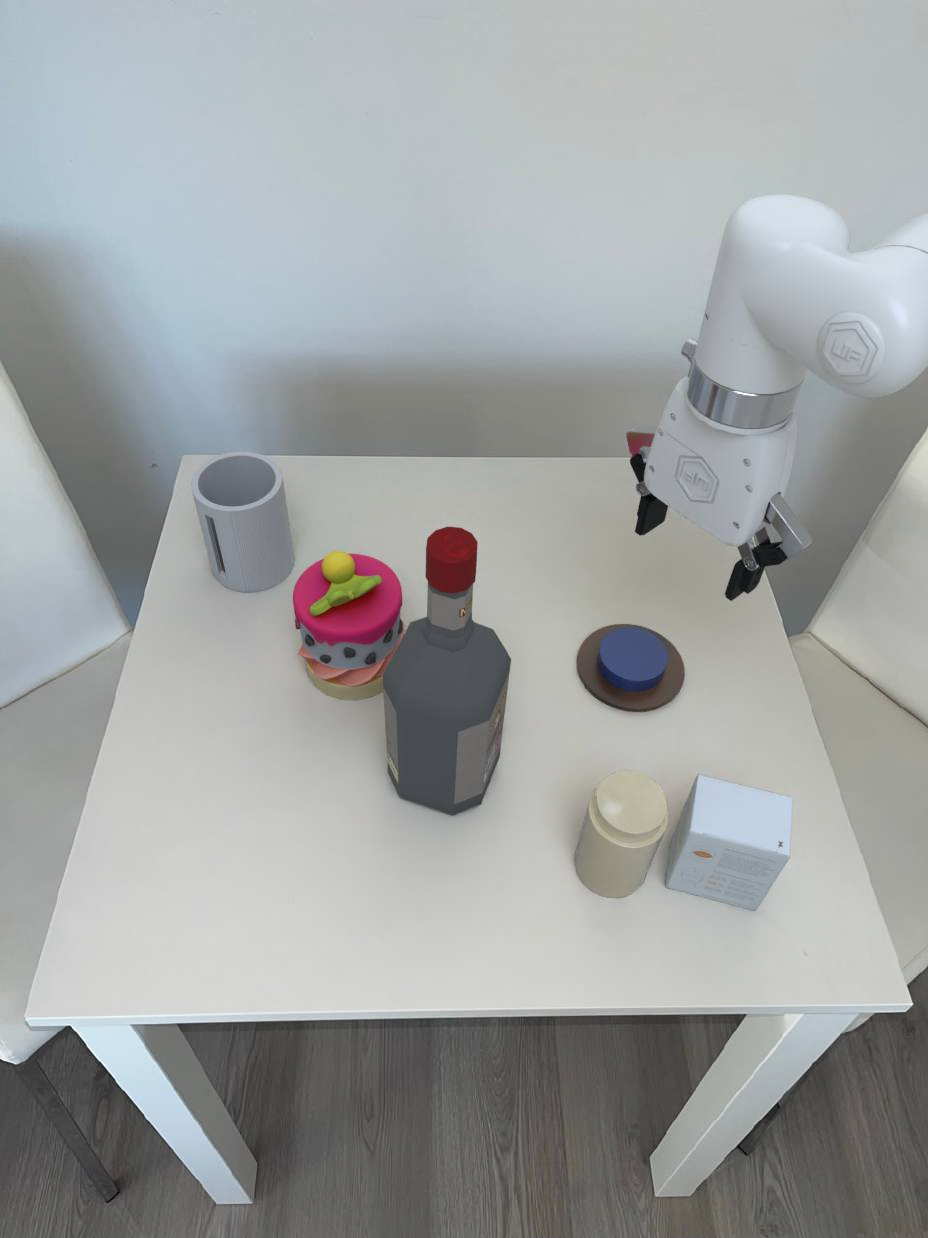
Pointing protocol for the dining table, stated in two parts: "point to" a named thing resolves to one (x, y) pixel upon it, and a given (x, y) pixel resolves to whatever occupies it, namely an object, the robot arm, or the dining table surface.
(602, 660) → the lid
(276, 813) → the dining table surface
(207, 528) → the cup
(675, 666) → the coaster
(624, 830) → the jar
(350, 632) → the cake
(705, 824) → the small box
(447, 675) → the liquor
